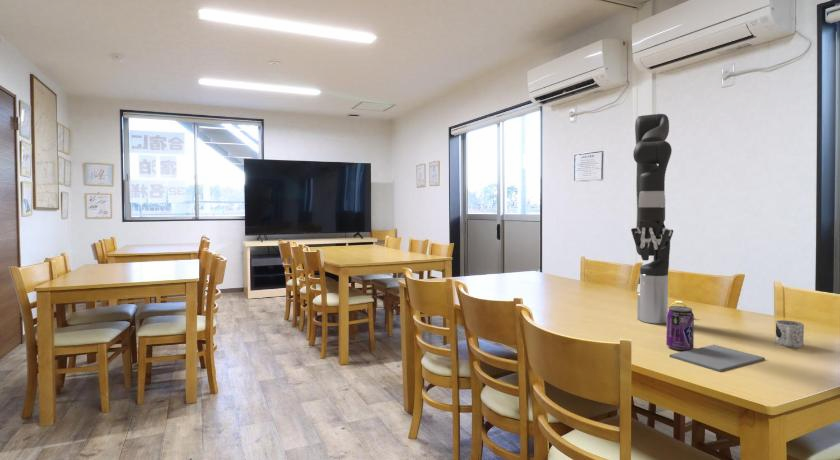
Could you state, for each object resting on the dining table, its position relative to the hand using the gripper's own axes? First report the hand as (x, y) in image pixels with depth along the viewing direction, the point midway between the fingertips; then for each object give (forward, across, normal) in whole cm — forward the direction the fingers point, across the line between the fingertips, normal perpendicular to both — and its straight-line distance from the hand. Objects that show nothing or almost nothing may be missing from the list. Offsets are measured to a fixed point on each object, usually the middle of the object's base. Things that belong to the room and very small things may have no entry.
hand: (651, 260), depth 151 cm
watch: (+25, -16, +36) cm, 47 cm away
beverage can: (+25, +10, 0) cm, 27 cm away
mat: (+25, +21, 0) cm, 33 cm away
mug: (+25, +24, +30) cm, 46 cm away
